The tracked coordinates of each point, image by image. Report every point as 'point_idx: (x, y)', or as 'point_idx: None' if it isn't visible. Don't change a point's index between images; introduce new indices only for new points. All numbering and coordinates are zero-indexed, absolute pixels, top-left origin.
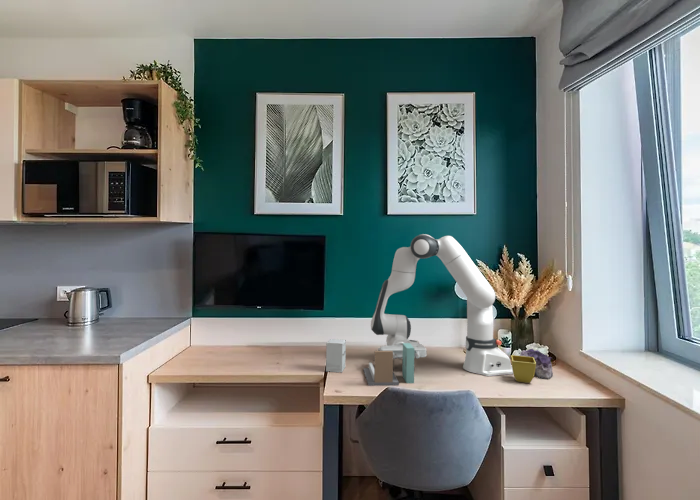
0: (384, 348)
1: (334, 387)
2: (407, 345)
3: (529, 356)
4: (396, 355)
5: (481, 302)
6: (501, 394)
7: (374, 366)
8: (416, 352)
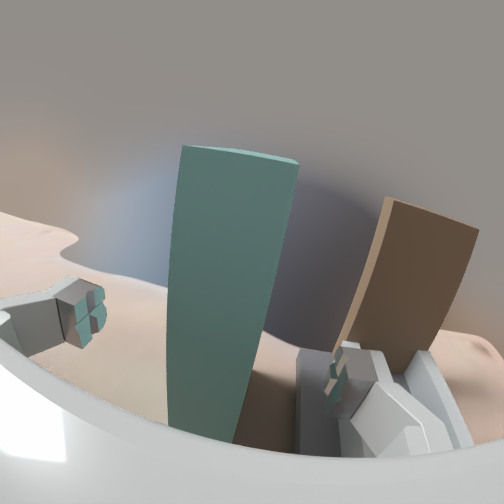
0: None
1: (500, 368)
2: (264, 155)
3: None
4: (341, 350)
5: None
6: (41, 231)
7: (447, 311)
8: (13, 326)
